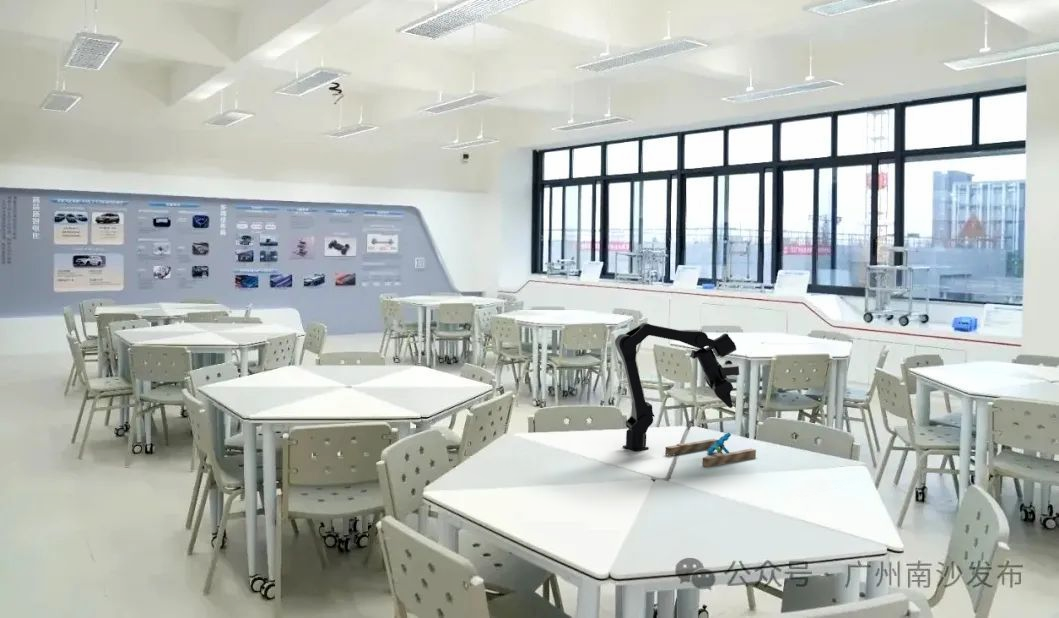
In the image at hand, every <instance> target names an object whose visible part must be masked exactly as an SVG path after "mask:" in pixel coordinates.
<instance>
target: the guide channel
mask: <svg viewBox="0 0 1059 618" xmlns="http://www.w3.org/2000/svg"><path fill="white" fill-rule="evenodd" d="M717 440H718V439H716V438H710V439H705V440H704V439H703V440H699V441H698V440H697V441H692V442H687V443H684V442H681V443H677V444H676V445H670V446H665V455H666V454H668V455H667V456H669V455H671V456H674V455H673V454H677V455H681V454H680V453H682V454H687V453H693V452H697V451H704V450H708V448H709V449H710V447H711V446H712V445H714V443H715V442H716V441H717ZM703 449H704V450H703ZM692 451H693V452H692ZM686 452H687V453H686ZM729 452H730V451H729ZM756 456H757V449H755V448H746V449H742V450H741V449H740V450H737V451H731V452H730V453H726V452H725V453H723V454H721V453H715V454H713V455H710V456H706V457H702V461H701V462H702V464H701V465H703V467H705V466H706V467H705V468H708V466H710V467H714V465H715V466H718V464H720V465H723V463H725V464H729V462H730V463H734V462H737V461H738V460H739V461H743V459H744V460H749V459H754V458H756ZM753 457H754V458H753ZM748 458H749V459H748ZM733 461H734V462H733ZM739 461H738V462H739Z"/></svg>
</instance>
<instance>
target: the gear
mask: <svg viewBox="0 0 1059 618" xmlns="http://www.w3.org/2000/svg"><path fill="white" fill-rule="evenodd" d="M731 436H732V434H731V433H730V431H729V432H727V433H725V434H724V435H723V436H720V437H719V438H718V439H717V441H716V442H715V443H714V445H712V446H711V447H710V448H709V449H707V453H708V454H709V455H710V454H713V453H714V452H715V451H716V452H717V454H720V453H721V454H724V452H725V453H730V451H729V450H728V448H726V447H725V446H726V445H725V442H726V441H728V440H729V439H730V437H731ZM723 451H724V452H723Z"/></svg>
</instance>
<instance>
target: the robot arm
mask: <svg viewBox="0 0 1059 618" xmlns="http://www.w3.org/2000/svg"><path fill="white" fill-rule="evenodd" d="M649 336H651V337H656V338H662V339H666V340H672V341H677V342H681V343H684V344H686V345H689V346H691V347H694V348H697V350H694V349H692V350H691V353H690V355H689V358H691V359H694V360H695V359H697V361H698V362H699V365H700V367H701V370H702V372H703V373H704V375H705V376H704V380H705V383H706V385H708V386H709V388H710V389H711V390H712V391H713V393H714V395H715V396H716V397H717V398H718V399H719V400H721V401H722V402H723V403H724V405H726V407H728V408H729V409H731V408H733V401H732V397H731V392H732V391H733V389H734V385H733V384H732V382H731V381H730V380H729V379H727V378H728V376H739V375H740V367H739V366H740V365H739V364H737V363H735V362H732V361H731V359H726V360H725V361H724V363H722V364H720V362H719V361H718V359H717V357H720V358H721V359H722V358H725V357H727V356H728V355H730V354H731V353H733V352H735V351H737V345H736V343H735V342H734V341H733V340H732V338H731V337H730V336H729V334H728V333H723V334H722V335H720V336H718V337H716V338H714V339H712V338H710V337H708V335H707V333H706V332H704V331H701V330H698V329H677V328H671V327H664V326H659V325H655V324H650V323H648V322H641V323H640V324H639V325H638V326H636V327H634V328H633V329H631V330H629V331H628V332H626V333H621V334H619V335H617V337H616V338H615V340H614V345H615V347H616V349H617V352H618V354H619V357H620V358H621V360H622V362H623V366H624V369H625V370H624V371H625V375H626V379H627V384H628V387H629V392H630V393H629V394H630V396H631V416H630V417H629V418H628V419H626V421H625V423H624V424H625V426H626V428H627V430H626V435H625V445H622V448H624V449H627V450H630V451H634V452H637V451H638V452H639V451H644V450H649V447H648V446H646V445H647V431H648V429H649V427H651V426H652V424H653V423H654V418H655V414H654V412H653V405H652V404H651V403H650V402H648V401H646V399H645V395H644V391H643V386H642V381H641V378H640V374H639V370H638V365H637V360H636V359H637V346H638V345H640V344H641V343H642V342H643V341H644V340H645V339H646V338H648V337H649Z"/></svg>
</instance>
